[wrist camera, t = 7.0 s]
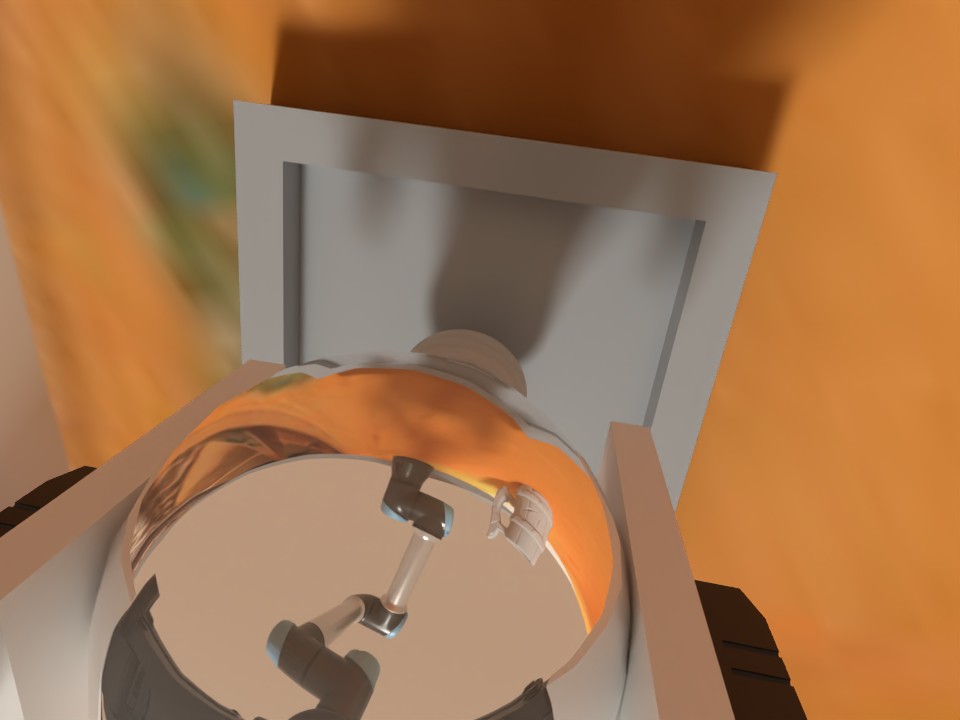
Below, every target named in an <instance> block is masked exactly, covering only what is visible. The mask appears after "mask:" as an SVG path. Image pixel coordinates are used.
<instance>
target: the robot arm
mask: <svg viewBox="0 0 960 720" xmlns="http://www.w3.org/2000/svg"><path fill="white" fill-rule="evenodd" d="M283 369H286V365H282V364H276V363H270V362H264V361H259V360H253V359H250V360H248V361H247V362H246V363H244V364H243V365H241V366H240V367H239V368H237V369H236V370H234V371H233V372H232V373H230V374H229V375H227V376H226V377H225V378H223V379H222V380H220V381H219V382H218V383H216V384H215V385H213V386H212V387H211V388H209V389H208V390H206V391H205V392H204V393H202V394H201V395H199V396H198V397H197V398H195V399H194V400H192V401H191V402H190V403H188V404H187V405H185V406H184V407H183V408H181V409H180V410H178V411H177V412H176V413H174V414H173V415H171V416H170V417H169V418H167V419H166V420H164V421H163V422H162V423H160V424H159V425H157V426H156V427H155V428H153V429H152V430H150V431H149V432H148V433H146V434H145V435H143V436H142V437H141V438H139V439H138V440H136V441H135V442H134V443H132V444H131V445H129V446H128V447H127V448H125V449H124V450H122V451H121V452H120V453H118V454H117V455H115V456H114V457H113V458H111V459H110V460H108V461H107V462H106V463H104V464H103V465H101V466H100V467H99V468H94V467H88V466H83V467H81V468H78V469H76V470H73V471H71V472H68V473H66V474H64V475H61V476H58V477H56V478H53V479H51V480H49V481H46V482H45V483H43V484H42V485H40V486H39V487H37V488H36V489H34V490H33V491H31V492H30V493H28V494H27V495H25V496H24V497H22V498H21V499H19V500H18V501H16V502H15V505H14V507H7V508H6V509H4V510H3V511H1V512H0V720H89V717H88V629H89V624H90V620H91V617H92V613H93V610H94V606H95V602H96V599H97V595H98V591H99V588H100V584H101V580H102V577H103V573H104V570H105V566H106V563H107V559H108V556H109V552H110V549H111V545H112V542H113V540H114V538H115V536H116V534H117V533H118V531H119V529H120V527H121V526H122V524H123V522H124V520H125V519H126V517H127V515H128V513H129V512H130V510H131V508H132V506H133V505H134V503H135V501H136V499H137V498H138V496H139V495H140V493H141V491H142V490H143V488H144V487H145V485H146V483H147V482H148V480H149V478H150V477H151V475H152V474H153V472H154V470H155V469H156V467H157V466H158V465H159V464H160V463H161V461H162V460H163V459H164V458H165V457H166V456H167V455H168V454H169V453H170V452H171V451H172V450H173V449H174V448H175V447H176V446H177V445H178V444H179V443H180V442H181V441H182V440H183V439H184V438H185V437H186V436H187V435H188V434H189V433H190V432H191V431H192V430H193V429H194V428H195V427H196V426H197V425H198V424H199V423H201V422H202V421H203V420H204V419H205V418H206V417H207V416H208V415H209V414H210V413H211V412H212V411H213V410H214V409H216V408H217V407H218V406H220V405H221V404H223V403H225V402H226V401H228V400H230V399H232V398H233V397H235V396H237V395H239V394H240V393H242V392H244V391H245V390H247V389H249V388H251V387H252V386H254V385H256V384H258V383H260V382H262V381H263V380H265V379H267V378H269V377H271V376H272V375H274V374H276V373H278V372H280V371H281V370H283ZM597 481H598V483H599V485H600V486H601V488H602V490H603V492H604V493H605V495H606V497H607V499H608V502H609V505H610V509H611V512H612V515H613V518H614V522H615V525H616V528H617V531H618V535H619V538H620V541H621V545H622V548H623V551H624V555H625V558H626V562H627V565H628V568H629V576H630V620H631V636H630V647H629V658H628V669H627V676H626V681H625V685H624V690H623V694H622V699H621V704H620V708H619V713H618V717H617V720H807V718H806V715H805V713H804V710H803V708H802V706H801V703H800V701H799V698H798V696H797V694H796V691H795V689H794V687H792V686H791V685H790V680H791V679H790V677H789V674H788V672H787V670H786V667H785V665H784V662H783V660H782V658H780V657H779V656H778V653H779V650H778V648H777V646H776V643H775V641H774V638H773V636H772V634H771V631H770V629H769V626H768V624H767V622H766V619H765V618H764V617H763V615H762V614H761V613H760V612H759V611H758V610H757V608H756V607H755V606H754V605H753V604H752V603H751V601H750V600H749V599H748V598H747V597H746V596H745V594H744V593H743V592H742V591H741V590H740V589H739V588H734V587H728V586H723V585H718V584H713V583H708V582H702V581H697V580H694V578H693V574H692V571H691V567H690V564H689V561H688V557H687V554H686V550H685V547H684V543H683V540H682V537H681V533H680V530H679V526H678V523H677V520H676V516H675V513H674V509H673V506H672V502H671V499H670V496H669V492H668V489H667V485H666V482H665V479H664V475H663V472H662V468H661V465H660V462H659V458H658V455H657V451H656V448H655V444H654V441H653V438H652V434H651V431H650V427H644V426H638V425H632V424H626V423H620V422H615V421H610V426H609V430H608V434H607V438H606V443H605V447H604V451H603V455H602V460H601V464H600V468H599V472H598V477H597Z"/></svg>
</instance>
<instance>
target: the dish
mask: <svg viewBox="0 0 960 720" xmlns="http://www.w3.org/2000/svg"><path fill="white" fill-rule="evenodd" d="M233 102H234V132H235V163H236V194H237V224H238V255H239V286H240V316H241V347H242V365H243V364H244V363H246V362H247V361H248V360H250V359H253V360H259V361H264V362H270V363H276V364H282V365H286V368H290V367H293V366H296V365H300V364H303V363H307V362H310V361H313V360H317V359H320V358H324V357H328V356H334V355H339V354H345V353H355V352H367V351H379V350H396V351H405V352H410V351H411V350H412V349H413V348H414V347H415V346H416V345H417V344H418V343H419V342H421V341H422V340H424V339H425V338H427V337H429V336H431V335H433V334H435V333H438V332H441V331H445V330H452V329H467V330H473V331H477V332H480V333H483V334H486V335H488V336H490V337H492V338H494V339H496V340H497V341H499V342H500V343H501V344H503V345H504V346H505V347H506V348H507V349H508V350H509V351H510V352H511V353H512V354H513V355H514V357H515V358H516V359H517V361H518V363H519V364H520V366H521V368H522V371H523V373H524V376H525V380H526V386H527V399H528V400H530V401H531V402H532V403H534V404H535V405H536V406H538V407H539V408H540V409H541V410H543V411H544V412H545V413H546V414H547V415H548V416H549V417H550V418H551V419H552V420H553V422H554V423H555V424H556V425H557V426H558V427H559V428H560V430H561V431H562V432H563V433H564V434H565V435H566V436H567V437H568V439H569V440H570V441H571V442H572V443H573V444H574V446H575V447H576V448H577V450H578V451H579V452H580V454H581V455H582V456H583V458H584V459H585V460H586V462H587V464H588V465H589V467H590V469H591V471H592V472H593V474H594V476H595V478H596V479H597V477H598V472H599V468H600V464H601V460H602V455H603V451H604V447H605V443H606V438H607V434H608V430H609V426H610V421H615V422H620V423H626V424H632V425H638V426H644V427H650V431H651V434H652V438H653V441H654V444H655V448H656V451H657V455H658V458H659V462H660V465H661V468H662V472H663V475H664V479H665V482H666V485H667V489H668V492H669V496H670V499H671V502H672V506H673V509H674V513H675V511H676V508H677V504H678V501H679V498H680V494H681V491H682V488H683V484H684V481H685V478H686V474H687V471H688V468H689V464H690V461H691V458H692V454H693V451H694V448H695V444H696V441H697V438H698V435H699V431H700V428H701V425H702V421H703V418H704V415H705V411H706V408H707V405H708V401H709V398H710V395H711V391H712V388H713V385H714V381H715V378H716V375H717V371H718V368H719V365H720V362H721V358H722V355H723V352H724V348H725V345H726V342H727V338H728V335H729V332H730V328H731V325H732V322H733V318H734V315H735V312H736V308H737V305H738V302H739V298H740V295H741V292H742V289H743V285H744V282H745V279H746V275H747V272H748V269H749V265H750V262H751V259H752V255H753V252H754V249H755V245H756V242H757V239H758V235H759V232H760V229H761V226H762V222H763V219H764V216H765V212H766V209H767V206H768V202H769V199H770V196H771V192H772V189H773V186H774V182H775V179H776V176H777V173H772V172H767V171H761V170H755V169H748V168H741V167H733V166H726V165H718V164H711V163H704V162H696V161H689V160H681V159H674V158H666V157H659V156H652V155H644V154H637V153H629V152H622V151H614V150H607V149H599V148H592V147H585V146H577V145H570V144H562V143H555V142H547V141H540V140H532V139H525V138H518V137H510V136H503V135H495V134H488V133H480V132H473V131H465V130H458V129H451V128H443V127H436V126H428V125H421V124H413V123H406V122H398V121H391V120H384V119H376V118H369V117H361V116H354V115H346V114H339V113H332V112H324V111H317V110H309V109H302V108H294V107H287V106H279V105H272V104H263V103H254V102H245V101H236V100H233Z"/></svg>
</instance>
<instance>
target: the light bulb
mask: <svg viewBox="0 0 960 720" xmlns="http://www.w3.org/2000/svg"><path fill="white" fill-rule="evenodd" d="M630 636H631V620H630V576H629V568H628V565H627V562H626V558H625V555H624V551H623V548H622V545H621V541H620V538H619V535H618V531H617V528H616V525H615V522H614V518H613V515H612V512H611V509H610V505H609V502H608V499H607V497H606V495H605V493H604V492H603V490H602V488H601V486H600V485H599V483H598V481H597V479H596V478H595V476H594V474H593V472H592V471H591V469H590V467H589V465H588V464H587V462H586V460H585V459H584V458H583V456H582V455H581V454H580V452H579V451H578V450H577V448H576V447H575V446H574V444H573V443H572V442H571V441H570V440H569V439H568V437H567V436H566V435H565V434H564V433H563V432H562V431H561V430H560V428H559V427H558V426H557V425H556V424H555V423H554V422H553V420H552V419H551V418H550V417H549V416H548V415H547V414H546V413H545V412H544V411H543V410H541V409H540V408H539V407H538V406H536V405H535V404H534V403H532V402H531V401H530V400H528V399H527V386H526V380H525V376H524V373H523V371H522V368H521V366H520V364H519V363H518V361H517V359H516V358H515V357H514V355H513V354H512V353H511V352H510V351H509V350H508V349H507V348H506V347H505V346H504V345H503V344H501V343H500V342H499V341H497V340H496V339H494V338H492V337H490V336H488V335H486V334H483V333H480V332H477V331H473V330H467V329H452V330H445V331H441V332H438V333H435V334H433V335H431V336H429V337H427V338H425V339H424V340H422V341H421V342H419V343H418V344H417V345H416V346H415V347H414V348H413V349H412V350H411V351H410V352H405V351H396V350H379V351H367V352H355V353H345V354H339V355H334V356H328V357H324V358H320V359H317V360H313V361H310V362H307V363H303V364H300V365H296V366H293V367H290V368H286V369H283V370H281V371H280V372H278V373H276V374H274V375H272V376H271V377H269V378H267V379H265V380H263V381H262V382H260V383H258V384H256V385H254V386H252V387H251V388H249V389H247V390H245V391H244V392H242V393H240V394H239V395H237V396H235V397H233V398H232V399H230V400H228V401H226V402H225V403H223V404H221V405H220V406H218V407H217V408H216V409H214V410H213V411H212V412H211V413H210V414H209V415H208V416H207V417H206V418H205V419H204V420H203V421H202V422H201V423H199V424H198V425H197V426H196V427H195V428H194V429H193V430H192V431H191V432H190V433H189V434H188V435H187V436H186V437H185V438H184V439H183V440H182V441H181V442H180V443H179V444H178V445H177V446H176V447H175V448H174V449H173V450H172V451H171V452H170V453H169V454H168V455H167V456H166V457H165V458H164V459H163V460H162V461H161V463H160V464H159V465H158V466H157V467H156V469H155V470H154V472H153V474H152V475H151V477H150V478H149V480H148V482H147V483H146V485H145V487H144V488H143V490H142V491H141V493H140V495H139V496H138V498H137V499H136V501H135V503H134V505H133V506H132V508H131V510H130V512H129V513H128V515H127V517H126V519H125V520H124V522H123V524H122V526H121V527H120V529H119V531H118V533H117V534H116V536H115V538H114V540H113V542H112V545H111V549H110V552H109V556H108V559H107V563H106V566H105V570H104V573H103V577H102V580H101V584H100V588H99V591H98V595H97V599H96V602H95V606H94V610H93V613H92V617H91V620H90V624H89V629H88V717H89V720H617V717H618V713H619V708H620V704H621V699H622V694H623V690H624V685H625V681H626V676H627V669H628V658H629V647H630Z"/></svg>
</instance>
